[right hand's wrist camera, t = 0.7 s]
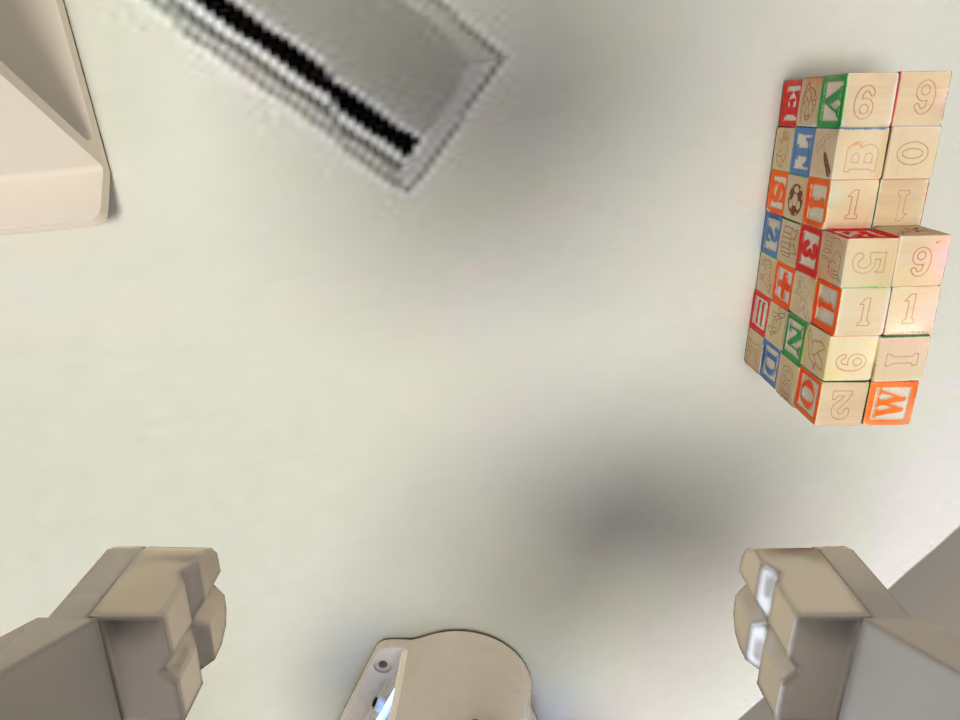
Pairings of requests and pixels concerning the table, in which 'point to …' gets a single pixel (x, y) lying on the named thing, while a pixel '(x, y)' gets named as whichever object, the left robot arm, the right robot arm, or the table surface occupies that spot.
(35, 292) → the table surface
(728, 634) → the table surface
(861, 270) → the stack of blocks
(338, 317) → the table surface
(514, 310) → the table surface
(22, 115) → the tablet stand
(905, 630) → the right robot arm
